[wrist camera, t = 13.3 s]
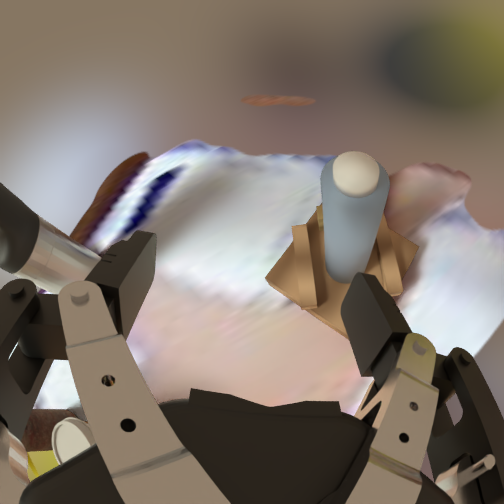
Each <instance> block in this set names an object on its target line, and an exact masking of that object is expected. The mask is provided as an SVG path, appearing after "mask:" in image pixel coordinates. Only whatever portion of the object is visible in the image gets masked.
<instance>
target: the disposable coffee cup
mask: <svg viewBox="0 0 504 504" xmlns="http://www.w3.org/2000/svg"><path fill="white" fill-rule="evenodd" d="M95 443H96V441H95V439H94V436H93V434H92V431H91V429H90V426H89V424H88V422H85V421H82V420H80V419H78V418H73V417H68V418H65V419H64V420H62V421H61V422H59V423H57V424H56V426H55V427H54V429H53V432H52V447H53V451H54V455H55V458H56V460H57V462H58V464H59V465H60V464H62V463H64V462H66V461H67V460H69V459H71V458H72V457H74V456H76V455H77V454H79V453H81V452H82V451H84V450H86V449H87V448H89V447H90V446H92V445H94V444H95Z"/></svg>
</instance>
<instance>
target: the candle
mask: <svg viewBox="0 0 504 504" xmlns="http://www.w3.org/2000/svg"><path fill="white" fill-rule="evenodd" d="M68 417H73V418H77V417H76V416H75V414H73V413H72V412H70V411H68V410H65V409H32V412H31V414H30V417H29V420H28V422H27V425H26V428H25V431H24V434H23V437H22V440H21V443H22V444H23V446H24V447H25V449H26V452H30V451H48V450H53V447H52V432H53V429H54V427H55V426H56V424H57V423H59V422H61V421H62V420H64V419H65V418H68Z"/></svg>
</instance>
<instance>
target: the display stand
mask: <svg viewBox="0 0 504 504" xmlns="http://www.w3.org/2000/svg"><path fill="white" fill-rule="evenodd" d="M316 208H317V210H316V211H315V213H314V214H313V215H312V217H311V218H310V219H309V221H308V222H307V223H306V224H303V225H296V226H292V233H293V242H292V243H291V245H290V246H289V247H288V248H287V250H286V251H285V252H284V254H283V255H282V256H281V258H280V259H279V260H278V262H277V263H276V264H275V265H274V267H273V268H272V269H271V271H270V272H269V273H268V274H267V276H266V277H265V279H266V280H267V282H268V283H269V285H270V286H271V287H273V288H274V289H276V290H277V291H279V292H280V293H282V294H283V295H284V296H286V297H287V298H289V299H290V300H292V301H293V302H294V303H296V304H297V305H299V306H300V307H301V309H302V310H306V311H307V312H309V313H310V314H312V315H313V316H315V317H316V318H318V319H319V320H321V321H322V322H323V323H325V324H326V325H328V326H329V327H331V328H332V329H334V330H335V331H337V332H338V333H340V334H341V335H343V336H344V337H345V338H347V339H348V340H349V338H348V335H347V332H346V329H345V326H344V323H343V321H342V318H341V313H340V311H341V304H342V302H343V299H344V297H345V295H346V293H347V291H348V289H349V287H350V284H351V283H348V284H344V283H339V282H337V281H335V280H334V279H332V278H331V277H330V276H329V274H328V273H327V270H326V267H325V243H324V223H323V207H322V203H321V205H320V206H316ZM418 248H419V246H417V245H416V244H414V243H412V242H411V241H409V240H408V239H406V238H404V237H403V236H401V235H399V234H398V233H396V232H394V231H393V230H391V229H389V228H388V226H387V222H386V219H385V215H384V213H383V215H382V218H381V222H380V225H379V229H378V232H377V235H376V239H375V242H374V245H373V248H372V252H371V255H370V258H369V261H368V264H367V267H366V270H365V272H364V273H366V274H372V275H375V276H376V277H377V279H378V280H379V282H380V284H381V285H382V287H383V289H384V290H386V291H387V292H388V293H389V294H390V295H391V296H397V295H400V294H401V293H402V292H403V287H402V282H401V281H402V279H403V277H404V275H405V273H406V271H407V270H408V268H409V266H410V264H411V262H412V260H413V258H414V256H415V254H416V252H417V250H418Z"/></svg>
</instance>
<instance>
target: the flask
mask: <svg viewBox="0 0 504 504" xmlns="http://www.w3.org/2000/svg"><path fill="white" fill-rule="evenodd" d="M320 179H321V193H322V207H323V223H324V243H325V267H326V270H327V273H328V274H329V276H330V277H331V278H332V279H334V280H335V281H337V282H339V283H344V284H348V283H351V282H352V280H353V278H354V276H355V274H356V273H358V272H361V273H364V272H365V270H366V267H367V264H368V261H369V258H370V255H371V252H372V248H373V245H374V242H375V239H376V235H377V232H378V229H379V225H380V222H381V218H382V215H383V211H384V208H385V204H386V200H387V196H388V192H389V188H390V181H389V177H388V174H387V172H386V170H385V169H384V168H383V167H382V166H381V165H380V164H379V163H378V162H377V161H375V160H374V159H373V158H372V157H370V156H369V155H367V154H365V153H362V152H357V151H350V152H346V153H343V154H341V155H340V156H337V157H335V158H333V159H332V160H330V161H329V162H328V163H327V164H326V165H325V166H324V168H323V170H322V173H321V178H320Z"/></svg>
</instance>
